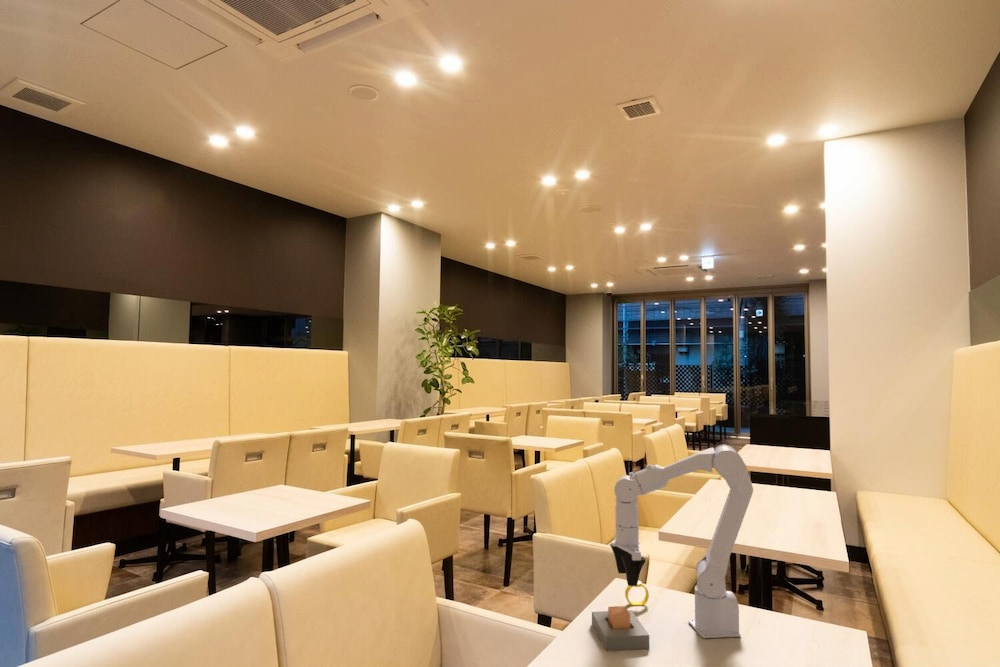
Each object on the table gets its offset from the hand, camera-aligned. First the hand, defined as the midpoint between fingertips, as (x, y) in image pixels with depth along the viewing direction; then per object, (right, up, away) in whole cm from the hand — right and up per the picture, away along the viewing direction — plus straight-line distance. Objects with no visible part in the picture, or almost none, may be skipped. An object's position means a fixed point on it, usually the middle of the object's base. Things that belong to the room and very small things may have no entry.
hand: (627, 578), depth 137 cm
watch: (+4, -10, +6) cm, 13 cm away
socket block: (-4, -9, -10) cm, 14 cm away
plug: (-4, -9, -10) cm, 14 cm away
